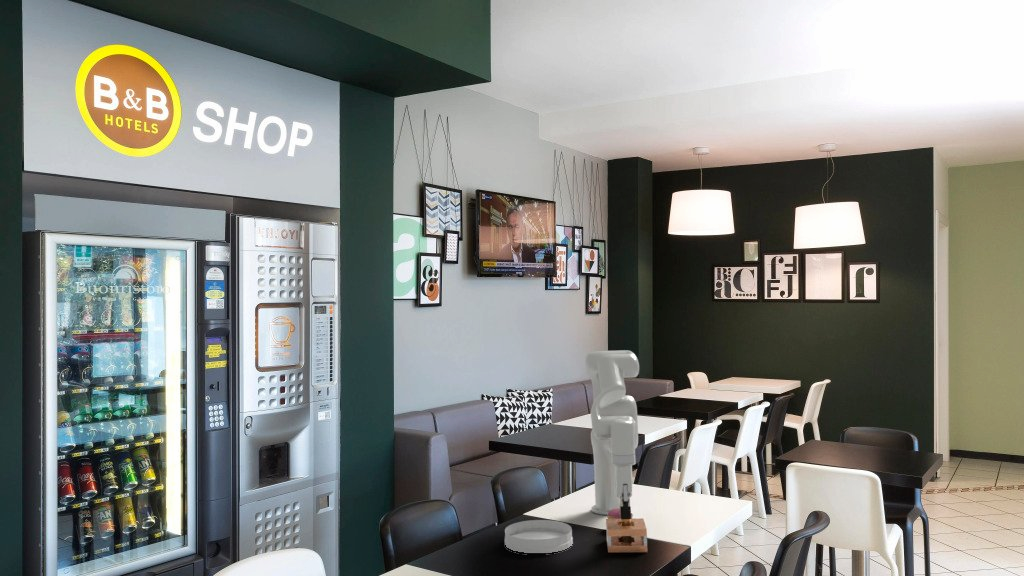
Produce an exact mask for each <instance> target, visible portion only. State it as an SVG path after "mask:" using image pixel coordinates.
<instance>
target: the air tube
mask: <svg viewBox="0 0 1024 576" xmlns="http://www.w3.org/2000/svg"><path fill="white" fill-rule="evenodd" d="M622 496H624V495H622ZM620 506H621V496H620ZM620 520H621V526H631V519H621V513H620ZM621 542H631V536H621Z"/></svg>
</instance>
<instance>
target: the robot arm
mask: <svg viewBox="0 0 1024 576" xmlns="http://www.w3.org/2000/svg"><path fill="white" fill-rule="evenodd" d="M585 367H586V371H587V373H588V376H589V378H590V380H591V384H592V400H593V403H592V405H591V409H590V419H591V428H592V429H591V431H590V441H591V446H592V453H593V470H594V471H593V472H594V499H595V500H594V502H595V503H594V505H592V506H591V512H592V513H594V514H597V515H604V516H605V515H606V516H607V515H608V513H609V511H611V510H612V509H616V508H620V513H621V519H631V513H632V510H631V508H632V507H631V497H632V496H633V466H634V465H636V449H637V448H638V446H639V445H638V444H639V424H638V423H639V422H638V406H637V402H636V400H635V398H634V397H633V396H631V395H629V394H627V393H626V392H627V390H626V389H627V388H626V383H625V379H626V378H629V379H630V378H637V377H638V375H639V374H640V363H639V358H638V357H637V355H636V354H635V353H634V352H633V351H631V350H628V349H627V350H625V349H624V350H623V349H622V350H621V349H620V350H598V351H597V350H596V351H591V352H589V353H587V354H586V356H585ZM626 394H627V395H626ZM622 495H624V496H622ZM620 496H621V506H620Z"/></svg>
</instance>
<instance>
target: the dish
mask: <svg viewBox="0 0 1024 576" xmlns="http://www.w3.org/2000/svg"><path fill="white" fill-rule="evenodd" d="M573 540H574V537H573V529H572V526H571V525H569V524H568V523H566V522H562V521H559V520H558V521H557V520H551V519H550V520H549V519H533V520H532V519H530V520H522V521H518V522H515V523H512V524H509V525H508V526H506V527H505V529H504V546H505V545H506V547H507V548H509V549H511V550H513V551H518V552H524V553H552V552H558V551H562V550H565V549H567V548H569V547H570V546H572V547H573V545H574V541H573ZM572 544H573V545H572ZM506 547H505V548H506ZM507 548H506V549H507ZM570 548H571V547H570ZM570 548H569V549H570ZM567 550H568V549H567ZM565 551H566V550H565ZM562 552H563V551H562ZM558 553H559V552H558Z"/></svg>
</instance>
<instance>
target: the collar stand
mask: <svg viewBox="0 0 1024 576" xmlns="http://www.w3.org/2000/svg"><path fill="white" fill-rule="evenodd" d="M605 525H606V526H605V528H606V529H605V530H606V546H607V553H648V532H647V531H648V530H647V529H648V528H647V525H646V523H645V520H644V518H632V519H631V526H621V520H620V519H608V518H606V519H605ZM621 536H631V542H621Z"/></svg>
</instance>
